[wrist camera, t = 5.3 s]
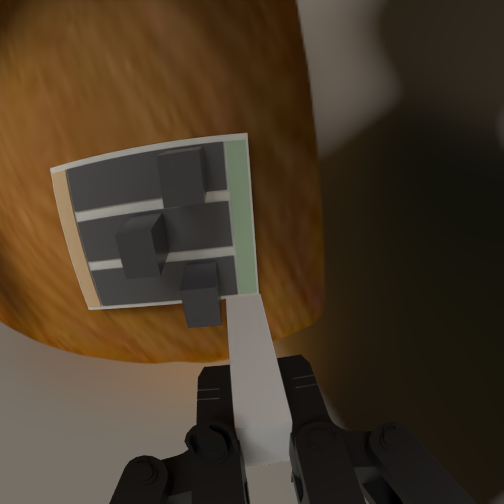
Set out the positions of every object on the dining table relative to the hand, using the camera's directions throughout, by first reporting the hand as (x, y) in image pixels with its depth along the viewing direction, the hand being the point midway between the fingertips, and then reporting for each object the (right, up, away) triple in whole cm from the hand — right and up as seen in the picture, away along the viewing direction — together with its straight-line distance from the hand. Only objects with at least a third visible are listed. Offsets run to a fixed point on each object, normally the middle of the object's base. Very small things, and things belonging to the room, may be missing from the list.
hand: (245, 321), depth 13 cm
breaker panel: (-9, +6, +13) cm, 17 cm away
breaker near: (-5, +10, +10) cm, 15 cm away
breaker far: (-4, +1, +14) cm, 14 cm away
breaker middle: (-9, +5, +11) cm, 15 cm away
